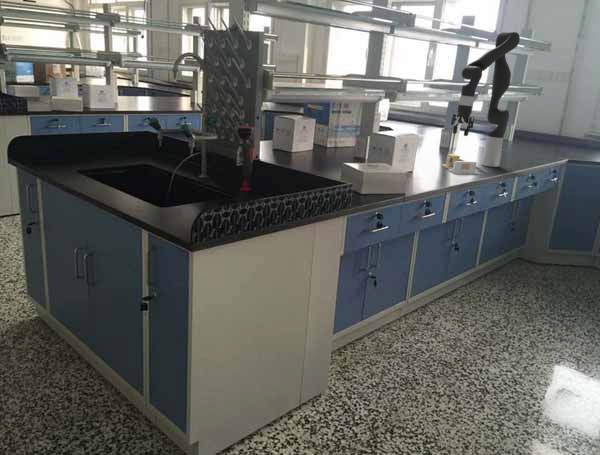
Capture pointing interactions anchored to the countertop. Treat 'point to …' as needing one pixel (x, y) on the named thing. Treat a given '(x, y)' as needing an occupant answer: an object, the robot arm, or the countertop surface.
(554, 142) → the countertop surface
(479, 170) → the caliper
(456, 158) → the u clip
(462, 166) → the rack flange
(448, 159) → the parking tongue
